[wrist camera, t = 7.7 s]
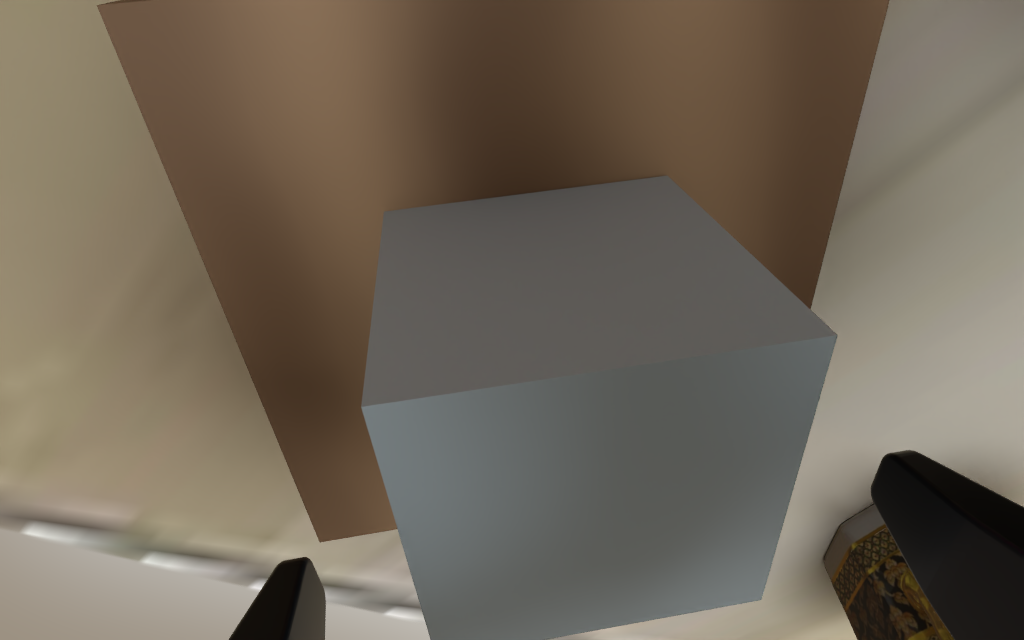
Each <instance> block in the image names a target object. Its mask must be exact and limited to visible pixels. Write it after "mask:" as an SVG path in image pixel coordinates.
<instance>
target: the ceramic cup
mask: <svg viewBox="0 0 1024 640" xmlns="http://www.w3.org/2000/svg"><path fill="white" fill-rule="evenodd" d="M824 560H825V564H824V565H825V568H826V570H827V573H828V575H829V577H830V579H831V582H832V584H833V587H834V589H835V591H836V593H837V595H838V597H839V600H840V602H841V604H842V606H843V608H844V610H845V612H846V615H847V617H848V619H849V621H850V624H851V626H852V628H853V630H854V633H855V635H856V637H857V639H858V640H954V638H953V637H952V635H951V634H950V632H949V631H948V629H947V628H946V627H945V625H944V624H943V622H942V621H941V619H940V618H939V616H938V615H937V613H936V612H935V610H934V609H933V607H932V606H931V604H930V602H929V601H928V599H927V598H926V596H925V595H924V593H923V591H922V590H921V588H920V586H919V584H918V583H917V581H916V579H915V578H914V576H913V574H912V572H911V570H910V568H909V567H908V565H907V563H906V561H905V559H904V557H903V556H902V554H901V552H900V550H899V548H898V546H897V545H896V543H895V541H894V539H893V537H892V535H891V534H890V532H889V530H888V528H887V526H886V525H885V523H884V521H883V519H882V517H881V515H880V514H879V512H878V510H877V508H876V506H875V504H874V505H872V506H870V507H869V508H867V509H865V510H864V511H862V512H860V513H859V514H857V515H856V516H854V517H852V518H851V519H849V520H847V521H846V522H844V523H842V524H841V525H840V527H839V529H838V531H837V533H836V535H835V537H834V539H833V541H832V543H831V545H830V547H829V549H828V551H827V553H826V555H825V557H824Z"/></svg>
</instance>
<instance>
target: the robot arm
mask: <svg viewBox="0 0 1024 640" xmlns="http://www.w3.org/2000/svg"><path fill="white" fill-rule="evenodd" d="M871 496H872V499H873V502H874V504H875V506H876V508H877V510H878V512H879V514H880V515H881V517H882V519H883V521H884V523H885V525H886V526H887V528H888V530H889V532H890V534H891V535H892V537H893V539H894V541H895V543H896V545H897V546H898V548H899V550H900V552H901V554H902V556H903V557H904V559H905V561H906V563H907V565H908V567H909V568H910V570H911V572H912V574H913V576H914V578H915V579H916V581H917V583H918V584H919V586H920V588H921V590H922V591H923V593H924V595H925V596H926V598H927V599H928V601H929V602H930V604H931V606H932V607H933V609H934V610H935V612H936V613H937V615H938V616H939V618H940V619H941V621H942V622H943V624H944V625H945V627H946V628H947V629H948V631H949V632H950V634H951V635H952V637H953V638H954V640H1024V507H1022V506H1021V505H1019V504H1017V503H1015V502H1013V501H1011V500H1009V499H1007V498H1005V497H1003V496H1001V495H999V494H997V493H995V492H994V491H992V490H990V489H988V488H986V487H984V486H982V485H980V484H978V483H976V482H974V481H972V480H970V479H969V478H967V477H965V476H963V475H961V474H959V473H957V472H955V471H953V470H951V469H949V468H947V467H945V466H943V465H942V464H940V463H938V462H936V461H934V460H932V459H930V458H928V457H926V456H924V455H922V454H920V453H918V452H915V451H911V450H906V451H900V452H894V453H889V454H887V455H885V456H884V457H883V459H882V461H881V463H880V466H879V468H878V471H877V473H876V476H875V478H874V481H873V483H872V486H871ZM325 609H326V600H325V592H324V588H323V586H322V583H321V581H320V579H319V577H318V574H317V572H316V570H315V568H314V566H313V563H312V561H311V560H310V559H309V558H307V557H302V558H296V559H291V560H285V561H282V562H281V563H279V564H278V565H277V566H276V568H275V569H274V571H273V572H272V574H271V575H270V577H269V578H268V580H267V581H266V583H265V584H264V586H263V588H262V589H261V591H260V592H259V594H258V595H257V597H256V598H255V600H254V601H253V603H252V604H251V606H250V608H249V609H248V611H247V612H246V614H245V615H244V617H243V618H242V620H241V621H240V623H239V624H238V626H237V628H236V629H235V631H234V632H233V634H232V635H231V637H230V638H229V640H325V611H326V610H325Z"/></svg>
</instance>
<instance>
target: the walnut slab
mask: <svg viewBox="0 0 1024 640" xmlns="http://www.w3.org/2000/svg"><path fill="white" fill-rule="evenodd" d="M888 4H889V0H120V1H115V2H110V3H106V4H101V5H97V7H98V9H99V12H100V14H101V16H102V19H103V21H104V24H105V26H106V29H107V31H108V33H109V36H110V38H111V41H112V43H113V45H114V48H115V50H116V53H117V55H118V57H119V60H120V62H121V65H122V67H123V69H124V72H125V74H126V77H127V79H128V81H129V84H130V86H131V89H132V91H133V94H134V96H135V98H136V101H137V103H138V106H139V108H140V110H141V113H142V115H143V118H144V120H145V122H146V125H147V127H148V130H149V132H150V134H151V137H152V139H153V142H154V144H155V147H156V149H157V151H158V154H159V156H160V159H161V161H162V163H163V166H164V168H165V171H166V173H167V175H168V178H169V180H170V183H171V185H172V187H173V190H174V192H175V195H176V197H177V200H178V202H179V204H180V207H181V209H182V212H183V214H184V216H185V219H186V221H187V224H188V226H189V228H190V231H191V233H192V236H193V238H194V240H195V243H196V245H197V248H198V250H199V252H200V255H201V257H202V260H203V262H204V265H205V267H206V269H207V272H208V274H209V277H210V279H211V281H212V284H213V286H214V289H215V291H216V293H217V296H218V298H219V301H220V303H221V305H222V308H223V310H224V313H225V315H226V318H227V320H228V322H229V325H230V327H231V330H232V332H233V334H234V337H235V339H236V342H237V344H238V346H239V349H240V351H241V354H242V356H243V358H244V361H245V363H246V366H247V368H248V371H249V373H250V375H251V378H252V380H253V383H254V385H255V387H256V390H257V392H258V395H259V397H260V399H261V402H262V404H263V407H264V409H265V411H266V414H267V416H268V419H269V421H270V423H271V426H272V428H273V431H274V433H275V436H276V438H277V440H278V443H279V445H280V448H281V450H282V452H283V455H284V457H285V460H286V462H287V464H288V467H289V469H290V472H291V474H292V476H293V479H294V481H295V484H296V486H297V489H298V491H299V493H300V496H301V498H302V501H303V503H304V505H305V508H306V510H307V513H308V515H309V517H310V520H311V522H312V525H313V527H314V529H315V532H316V534H317V537H318V539H319V542H325V541H330V540H336V539H342V538H348V537H354V536H359V535H365V534H371V533H377V532H383V531H389V530H394V529H398V528H397V525H396V522H395V518H394V515H393V512H392V508H391V505H390V502H389V498H388V495H387V492H386V488H385V485H384V482H383V478H382V475H381V472H380V468H379V465H378V462H377V458H376V455H375V452H374V448H373V445H372V442H371V438H370V435H369V432H368V428H367V425H366V421H365V418H364V415H363V411H362V408H361V404H362V396H363V387H364V378H365V370H366V361H367V353H368V344H369V336H370V327H371V318H372V310H373V301H374V293H375V284H376V275H377V267H378V258H379V250H380V241H381V233H382V224H383V215H384V212H385V211H393V210H401V209H408V208H416V207H424V206H432V205H439V204H447V203H455V202H463V201H471V200H479V199H487V198H494V197H502V196H510V195H518V194H526V193H534V192H542V191H549V190H557V189H565V188H573V187H581V186H589V185H597V184H605V183H612V182H620V181H628V180H636V179H644V178H652V177H660V176H668V177H669V178H671V179H672V180H673V181H674V182H675V183H676V184H677V185H678V186H679V187H680V188H681V189H682V190H683V191H684V192H685V193H687V194H688V195H689V196H690V197H691V198H692V199H693V200H694V201H695V202H696V203H697V204H698V205H699V206H700V207H701V208H703V209H704V210H705V211H706V212H707V213H708V214H709V215H710V216H711V217H712V218H713V219H714V220H715V221H716V222H717V223H719V224H720V225H721V226H722V227H723V228H724V229H725V230H726V231H727V232H728V233H729V234H730V235H731V236H732V237H733V238H734V239H736V240H737V241H738V242H739V243H740V244H741V245H742V246H743V247H744V248H745V249H746V250H747V251H748V252H749V253H750V254H752V255H753V256H754V257H755V258H756V259H757V260H758V261H759V262H760V263H761V264H762V265H763V266H764V267H765V268H766V269H768V270H769V271H770V272H771V273H772V274H773V275H774V276H775V277H776V278H777V279H778V280H779V281H780V282H781V283H782V284H784V285H785V286H786V287H787V288H788V289H789V290H790V291H791V292H792V293H793V294H794V295H795V296H796V297H797V298H798V299H800V300H801V301H802V302H803V303H804V304H805V305H806V306H807V307H808V308H809V309H810V308H811V305H812V301H813V297H814V293H815V289H816V285H817V281H818V277H819V273H820V269H821V266H822V262H823V258H824V254H825V250H826V246H827V242H828V238H829V234H830V230H831V227H832V223H833V219H834V215H835V211H836V207H837V203H838V199H839V195H840V191H841V187H842V184H843V180H844V176H845V172H846V168H847V164H848V160H849V156H850V152H851V148H852V145H853V141H854V137H855V133H856V129H857V125H858V121H859V117H860V113H861V109H862V106H863V102H864V98H865V94H866V90H867V86H868V82H869V78H870V74H871V70H872V67H873V63H874V59H875V55H876V51H877V47H878V43H879V39H880V35H881V31H882V27H883V24H884V20H885V16H886V12H887V8H888Z"/></svg>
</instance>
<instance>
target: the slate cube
mask: <svg viewBox="0 0 1024 640" xmlns="http://www.w3.org/2000/svg"><path fill="white" fill-rule="evenodd" d="M836 339H837V334H836V333H835V332H834V331H833V330H831V329H830V328H829V327H828V326H827V325H826V324H825V323H824V322H823V321H822V320H821V319H820V318H819V317H818V316H817V315H816V314H814V313H813V312H812V311H811V310H810V309H809V308H808V307H807V306H806V305H805V304H804V303H803V302H802V301H801V300H800V299H798V298H797V297H796V296H795V295H794V294H793V293H792V292H791V291H790V290H789V289H788V288H787V287H786V286H785V285H784V284H782V283H781V282H780V281H779V280H778V279H777V278H776V277H775V276H774V275H773V274H772V273H771V272H770V271H769V270H768V269H766V268H765V267H764V266H763V265H762V264H761V263H760V262H759V261H758V260H757V259H756V258H755V257H754V256H753V255H752V254H750V253H749V252H748V251H747V250H746V249H745V248H744V247H743V246H742V245H741V244H740V243H739V242H738V241H737V240H736V239H734V238H733V237H732V236H731V235H730V234H729V233H728V232H727V231H726V230H725V229H724V228H723V227H722V226H721V225H720V224H719V223H717V222H716V221H715V220H714V219H713V218H712V217H711V216H710V215H709V214H708V213H707V212H706V211H705V210H704V209H703V208H701V207H700V206H699V205H698V204H697V203H696V202H695V201H694V200H693V199H692V198H691V197H690V196H689V195H688V194H687V193H685V192H684V191H683V190H682V189H681V188H680V187H679V186H678V185H677V184H676V183H675V182H674V181H673V180H672V179H671V178H669V177H668V176H660V177H652V178H644V179H636V180H628V181H620V182H612V183H605V184H597V185H589V186H581V187H573V188H565V189H557V190H549V191H542V192H534V193H526V194H518V195H510V196H502V197H494V198H487V199H479V200H471V201H463V202H455V203H447V204H439V205H432V206H424V207H416V208H408V209H401V210H393V211H385V212H384V215H383V224H382V233H381V241H380V250H379V258H378V267H377V275H376V284H375V293H374V301H373V310H372V318H371V327H370V336H369V344H368V353H367V361H366V370H365V378H364V387H363V396H362V404H361V408H362V411H363V415H364V418H365V421H366V425H367V428H368V432H369V435H370V438H371V442H372V445H373V448H374V452H375V455H376V458H377V462H378V465H379V468H380V472H381V475H382V478H383V482H384V485H385V488H386V492H387V495H388V498H389V502H390V505H391V508H392V512H393V515H394V518H395V522H396V525H397V528H398V532H399V535H400V538H401V542H402V545H403V549H404V552H405V555H406V559H407V562H408V565H409V569H410V572H411V575H412V579H413V582H414V585H415V589H416V592H417V595H418V599H419V602H420V605H421V609H422V612H423V615H424V619H425V622H426V625H427V628H428V632H429V635H430V639H431V640H545V639H551V638H556V637H562V636H567V635H573V634H578V633H584V632H589V631H594V630H600V629H605V628H611V627H616V626H622V625H627V624H633V623H638V622H644V621H649V620H654V619H660V618H665V617H671V616H676V615H682V614H687V613H693V612H698V611H703V610H709V609H714V608H720V607H725V606H731V605H736V604H742V603H747V602H753V601H758V600H761V599H762V596H763V592H764V589H765V585H766V582H767V578H768V575H769V571H770V568H771V564H772V561H773V557H774V554H775V550H776V547H777V544H778V540H779V537H780V533H781V530H782V526H783V523H784V519H785V516H786V512H787V509H788V505H789V502H790V498H791V495H792V491H793V488H794V485H795V481H796V478H797V474H798V471H799V467H800V464H801V460H802V457H803V453H804V450H805V446H806V443H807V439H808V436H809V432H810V429H811V425H812V422H813V419H814V415H815V412H816V408H817V405H818V401H819V398H820V394H821V391H822V387H823V384H824V380H825V377H826V373H827V370H828V366H829V363H830V360H831V356H832V353H833V349H834V346H835V342H836Z"/></svg>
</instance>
